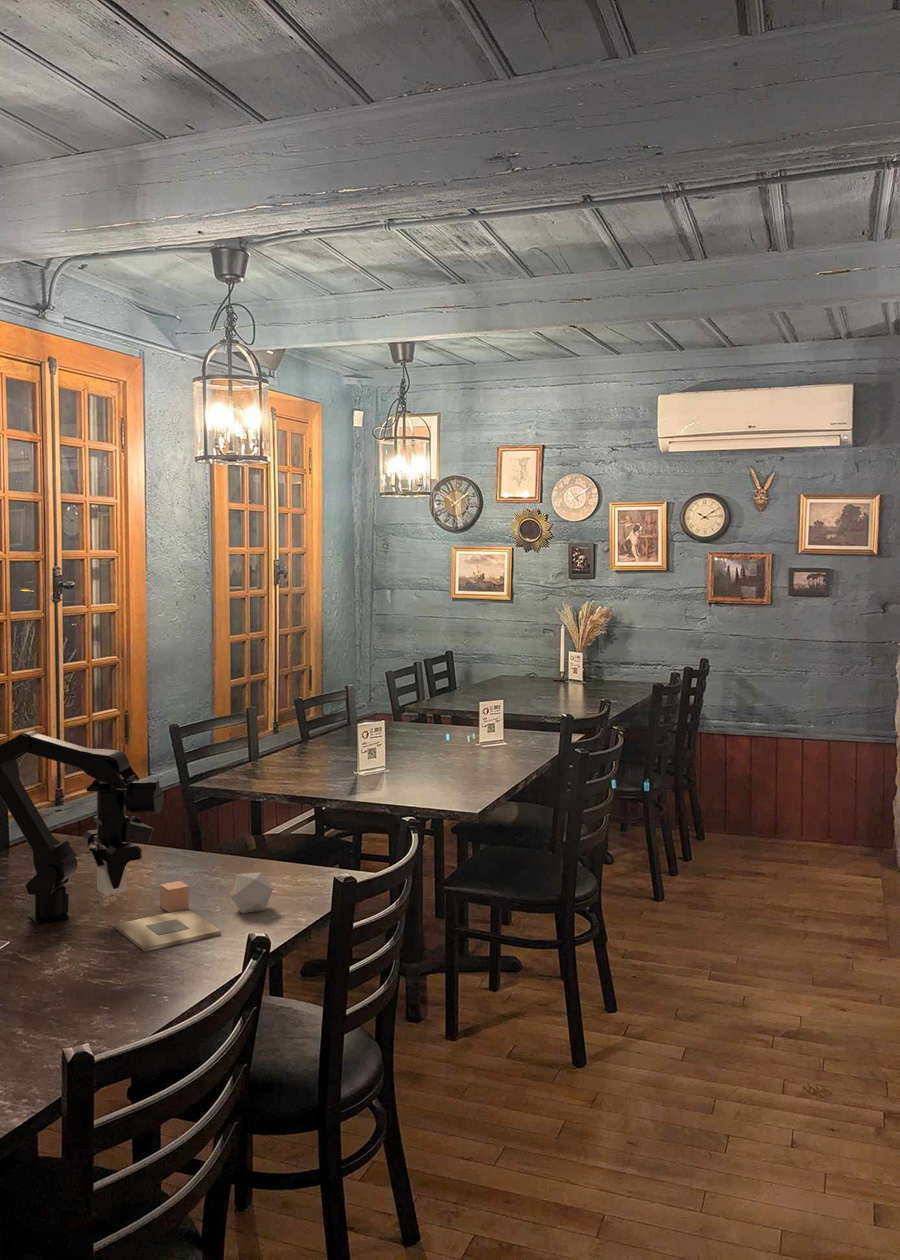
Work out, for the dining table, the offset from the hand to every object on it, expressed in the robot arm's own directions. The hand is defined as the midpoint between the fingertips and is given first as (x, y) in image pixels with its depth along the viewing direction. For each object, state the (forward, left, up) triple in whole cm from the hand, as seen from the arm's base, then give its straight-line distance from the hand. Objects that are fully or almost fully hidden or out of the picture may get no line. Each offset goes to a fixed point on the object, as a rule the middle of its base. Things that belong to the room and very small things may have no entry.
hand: (111, 885), depth 212 cm
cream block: (0, 0, -1) cm, 1 cm away
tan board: (+7, -13, -7) cm, 16 cm away
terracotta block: (+14, 0, -8) cm, 16 cm away
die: (+27, -11, -8) cm, 30 cm away
